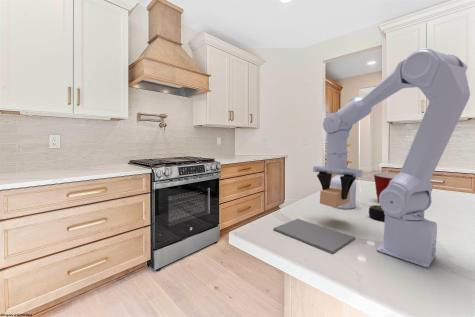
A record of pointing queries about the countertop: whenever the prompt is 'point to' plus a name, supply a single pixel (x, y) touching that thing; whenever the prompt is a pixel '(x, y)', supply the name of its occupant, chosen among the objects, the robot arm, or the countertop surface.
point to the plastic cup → (382, 181)
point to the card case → (333, 197)
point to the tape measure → (376, 212)
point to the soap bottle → (337, 183)
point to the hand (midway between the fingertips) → (335, 197)
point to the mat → (315, 235)
